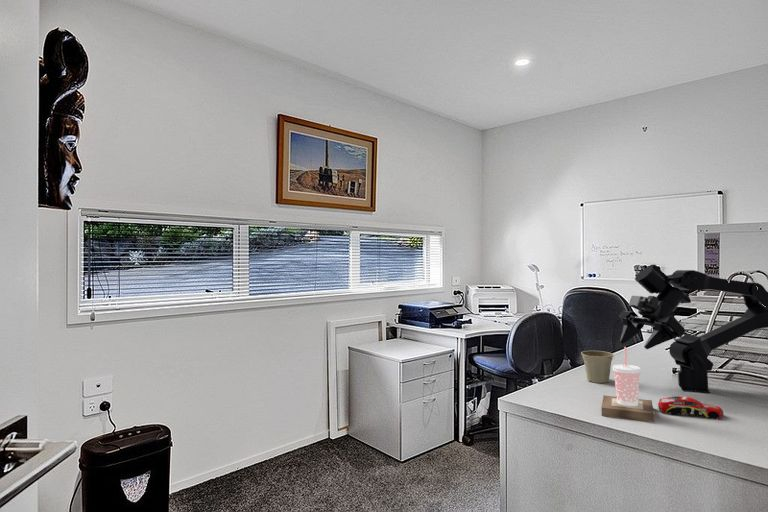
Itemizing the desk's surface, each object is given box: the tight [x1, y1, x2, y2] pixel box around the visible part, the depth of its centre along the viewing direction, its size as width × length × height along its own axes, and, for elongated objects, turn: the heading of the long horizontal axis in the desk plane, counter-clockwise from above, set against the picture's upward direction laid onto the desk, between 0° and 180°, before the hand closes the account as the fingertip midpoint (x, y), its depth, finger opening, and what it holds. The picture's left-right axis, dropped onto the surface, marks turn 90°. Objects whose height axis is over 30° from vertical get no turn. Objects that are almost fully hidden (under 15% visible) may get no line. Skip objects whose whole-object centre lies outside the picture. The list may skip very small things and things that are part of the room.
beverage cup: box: [611, 346, 641, 406], centre depth 111 cm, size 6×6×14 cm
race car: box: [657, 395, 725, 420], centre depth 109 cm, size 13×5×4 cm, turn 64°
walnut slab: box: [601, 395, 655, 423], centre depth 111 cm, size 11×11×2 cm
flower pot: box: [580, 350, 615, 384], centre depth 140 cm, size 9×9×9 cm
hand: (632, 345), depth 126 cm, fingers open, 9 cm apart
